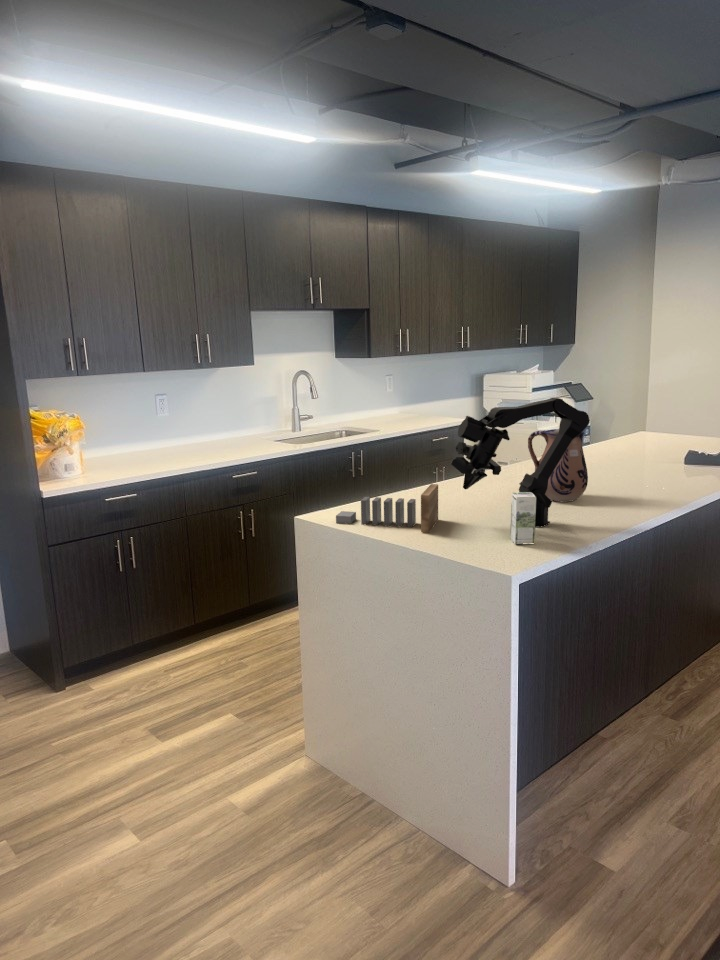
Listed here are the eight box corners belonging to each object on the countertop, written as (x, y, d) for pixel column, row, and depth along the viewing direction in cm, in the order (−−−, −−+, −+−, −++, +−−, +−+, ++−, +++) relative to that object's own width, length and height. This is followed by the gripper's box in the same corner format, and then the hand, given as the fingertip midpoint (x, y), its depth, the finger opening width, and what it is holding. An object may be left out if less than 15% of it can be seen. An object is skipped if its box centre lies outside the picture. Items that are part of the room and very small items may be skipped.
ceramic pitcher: (589, 505, 241) (592, 434, 236) (527, 504, 245) (529, 434, 240) (584, 494, 258) (587, 427, 253) (525, 493, 262) (527, 427, 257)
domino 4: (404, 522, 226) (403, 498, 224) (400, 526, 221) (400, 502, 220) (399, 522, 226) (399, 498, 225) (395, 526, 222) (395, 501, 220)
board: (438, 520, 228) (438, 484, 226) (428, 533, 213) (428, 495, 211) (431, 519, 229) (430, 484, 226) (421, 533, 214) (420, 495, 211)
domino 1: (370, 520, 229) (369, 497, 227) (366, 524, 224) (365, 500, 223) (365, 520, 230) (365, 496, 228) (361, 524, 225) (360, 500, 223)
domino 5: (415, 523, 225) (415, 499, 223) (412, 527, 220) (412, 502, 218) (410, 522, 225) (410, 498, 224) (407, 527, 221) (407, 502, 219)
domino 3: (392, 521, 227) (392, 498, 225) (388, 526, 222) (388, 501, 221) (387, 521, 227) (387, 497, 226) (384, 525, 223) (383, 501, 221)
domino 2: (381, 521, 228) (381, 497, 226) (377, 525, 223) (376, 501, 222) (376, 520, 228) (376, 497, 227) (372, 525, 224) (372, 500, 222)
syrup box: (529, 539, 205) (530, 491, 202) (534, 545, 199) (536, 495, 196) (510, 539, 205) (511, 491, 202) (515, 545, 199) (516, 496, 196)
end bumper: (356, 519, 231) (355, 511, 231) (350, 523, 225) (350, 516, 225) (341, 518, 232) (341, 511, 232) (336, 523, 227) (335, 515, 226)
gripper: (487, 434, 224) (466, 475, 230) (450, 431, 211) (429, 474, 217) (511, 452, 217) (489, 494, 224) (475, 450, 204) (452, 494, 211)
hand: (464, 488), depth 219 cm, fingers closed
